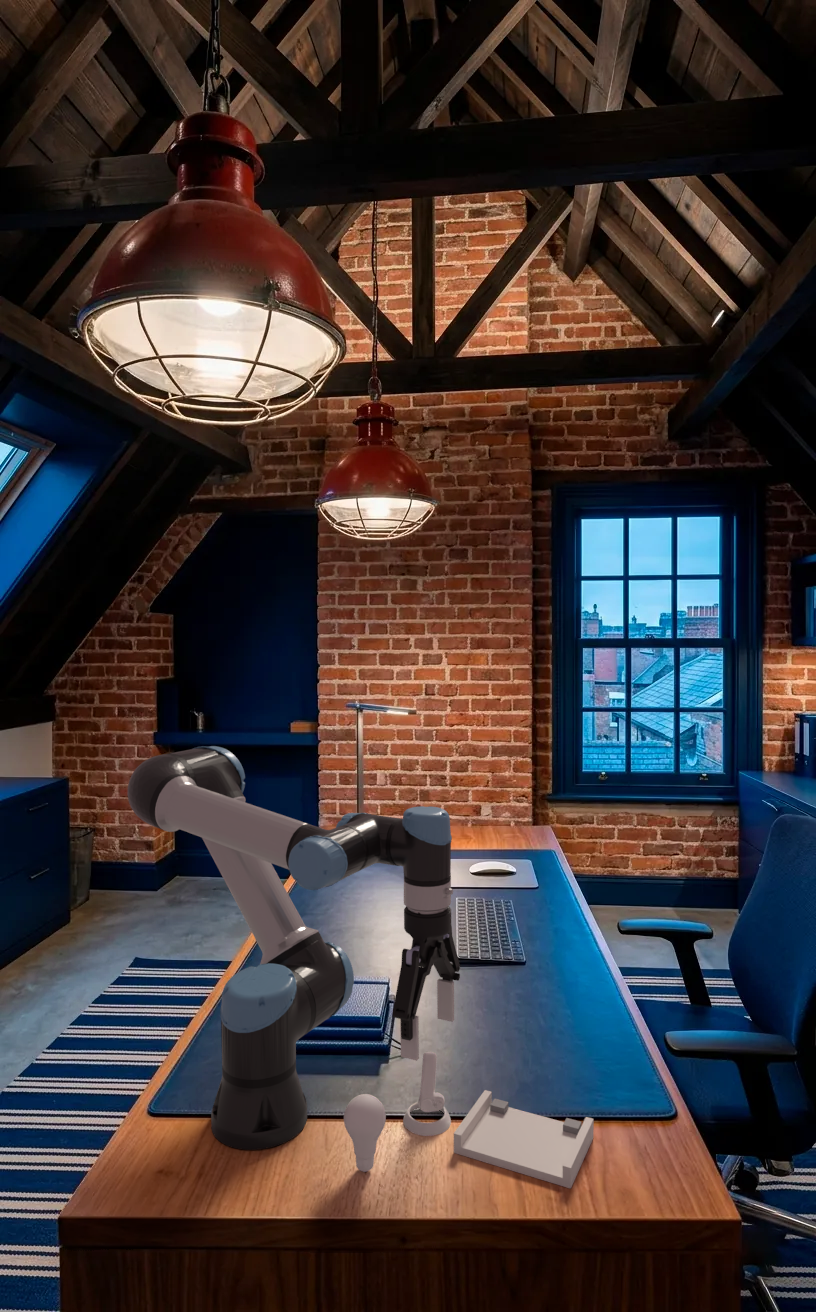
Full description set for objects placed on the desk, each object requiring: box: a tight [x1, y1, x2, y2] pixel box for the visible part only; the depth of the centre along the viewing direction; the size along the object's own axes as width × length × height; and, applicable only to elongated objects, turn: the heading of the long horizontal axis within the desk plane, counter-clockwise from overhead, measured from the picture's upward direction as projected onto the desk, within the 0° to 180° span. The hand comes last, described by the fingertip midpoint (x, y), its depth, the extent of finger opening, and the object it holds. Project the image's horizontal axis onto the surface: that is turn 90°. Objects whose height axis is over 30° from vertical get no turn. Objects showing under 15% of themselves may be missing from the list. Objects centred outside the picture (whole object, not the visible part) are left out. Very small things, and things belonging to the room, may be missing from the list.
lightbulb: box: [343, 1093, 387, 1173], centre depth 123 cm, size 6×6×11 cm
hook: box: [402, 1051, 452, 1137], centre depth 137 cm, size 8×12×7 cm
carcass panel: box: [453, 1089, 595, 1189], centre depth 129 cm, size 18×13×3 cm
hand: (428, 1037), depth 134 cm, fingers open, 13 cm apart
